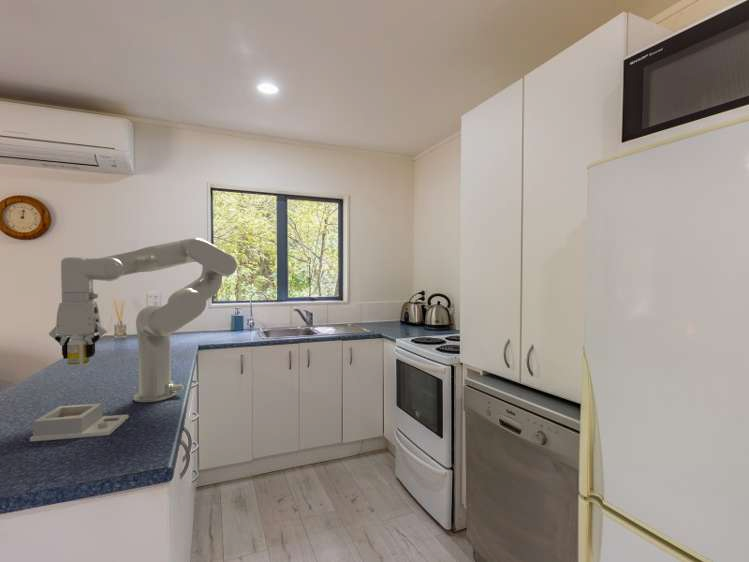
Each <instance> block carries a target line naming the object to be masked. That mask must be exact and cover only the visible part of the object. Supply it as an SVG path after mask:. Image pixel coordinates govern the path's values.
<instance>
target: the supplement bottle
mask: <svg viewBox="0 0 749 562" xmlns="http://www.w3.org/2000/svg"><path fill="white" fill-rule="evenodd" d="M86 345H88V342H87V339H86V337H85V335H71V336H70V341H69V342H68V344H67V356H68V358H67V366H68V367H70V368H71V367H72V368H75V367H77V368H78V367H83V366H87V365H89V364H91V363H90V361H91V359H90V358H91V357H90V358H87V357H86Z"/></svg>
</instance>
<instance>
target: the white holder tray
mask: <svg viewBox="0 0 749 562" xmlns="http://www.w3.org/2000/svg"><path fill="white" fill-rule="evenodd" d="M103 406H104V405H103V403H91V404H89V403H88V404H73V405H59V406H57V407H55V408H54V409H52V410H51V411H49V412H46V413H45V414H43V415H42V416H40V417H38V418H36V419H34V420H33V422H32V430H33V431H32V432H33V433H32V436H30V437H29V442H39V441H42V442H43V441H51V440H52V441H53V440H65V439H67V440H68V439H76V438H79V439H80V438H90V437H100V436H101V437H102V436H103V437H104V436H109V435H111V434H112V433H113V432H114V431H115V430H116V429H118V428H119V427H120V426H121V425H122V424H124V423H125V420H126V419H127V420H128V419H129V414H119V415H115V414H114V415H106V416H105V415H104V411H103V410H104V407H103ZM73 415H79V416H73ZM64 416H72V417H64ZM127 420H126V421H127Z"/></svg>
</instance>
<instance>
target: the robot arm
mask: <svg viewBox="0 0 749 562" xmlns="http://www.w3.org/2000/svg"><path fill="white" fill-rule="evenodd" d="M194 262H195V263H198V264H199V265H201V266H202V267H201V270H202V271H201V274H200V276H199V277H198V278H196V279H195V280H194V281H192V282H190V283H189V284H188V285H186V286H184V287H182V288H180V289H178V290H176V291H174V292H172V294H171V295H169V297H168V299H167V303H166V304H164V305H162V306H160V305H148V306H146V307H143V308H142V309H141V310H140V311H139V312H138V314H137V316H136V319H135V328H136V333H137V341H138V342H137V343H138V347H137V348H138V388H139V389H138V390H139V391H138V393H136V394H135V395H134V396H133V400H134V401H135V402H137V403H155V402H161V401H164V400H168V399H171V398H172V397H174V396H176V394H177V392H181V391H182V392H183V391H185V390H184V389H185V386H184V384H182V383H178V384H175V383H174V380H171V377H172V375H171V368H172V367H171V338H170V335H172V334H173V333H176V332H177V331H179V330H181V329H182V328H184V327H185V326H186V325H188V324H190V323H191V322H193V321H194V320H196V319H197V318H198V317H199V316H201V315H202V313H203V312H204V311H205V309H206V306H207V301H208V300H210V299H211V298H213V297H214V296H215V295H216V294H217V293H218V292H219V290H220V288H221V287H222V282H223V277H229V276H232V275H233V274H235V272H236V271H237V267H238V263H237V260H236V259H235V257H234V256H233V255H232V254H230V253H228V252H226V251H225V250H223V249H221V248H219V247H218V246H215V245H214V244H213V243H210V242H209V241H206V240H205V239H203V238H199V237H194V238H192V237H191V238H186V239H180V240H177V241H172V242H171V241H170V242H167V243H160V244H156V245H151V246H146V247H143V248H140V249H135V250H132V251H127V252H123V253H118V254H115V255H114V254H113V255H109V256H104V257H96V258H95V257H94V258H88V257H82V256H81V257H75V256H73V257H72V256H70V257H64V258H62V259H61V261H60V276H61V277H60V279H61V280H60V281H61V282H60V283H61V286H60V287H61V302H59V304H58V307H57V308H58V309H57V312H56V319H55V320H56V322H55V326H54V328H52V330H51V331H49V333H48V335H49V336H50V337H51V338H52V339H54V340H55V341H56V342H57V343H58V344H59V346H61V356H62V358H63V360H65V359H66V360H67V359H68V356H67V344H68V342H69V341H71V339H70V336H71V335H85V337H86V339H87V342H88V345H86V357H87V358H92V357H94V356H95V354H96V343H97V342H98V341H99V340H100V339H101V338H102V337H103V336H105V335H106V334H107V333H108V331H107V329H106V328H104V327H103V326H102V324H101V317H100V315H101V314H100V311H99V306H98V303H97V301H94V300H95V299H98V298H99V294H98V293H95V292H94V281H103V282H104V281H105V282H114V281H116V280H118V279H120V278H121V277H123V276H128V275H133V274H138V273H139V274H140V273H147V272H148V273H149V272H151V273H152V272H155V271H161V270H165V269H168V268H173V267H176V266H181V265H186V264H188V263H189V264H190V263H194ZM96 333H97V334H96Z"/></svg>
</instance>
